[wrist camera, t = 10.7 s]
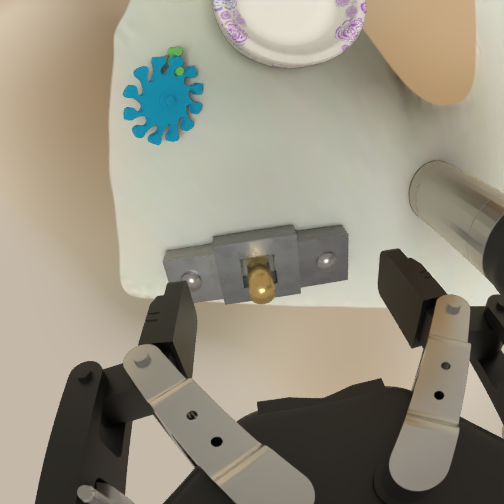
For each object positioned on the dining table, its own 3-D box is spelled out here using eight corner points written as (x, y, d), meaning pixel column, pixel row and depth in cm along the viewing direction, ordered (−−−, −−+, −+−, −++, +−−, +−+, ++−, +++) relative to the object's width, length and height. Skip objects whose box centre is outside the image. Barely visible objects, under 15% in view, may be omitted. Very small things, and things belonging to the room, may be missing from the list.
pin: (266, 248, 44) (274, 281, 37) (269, 267, 46) (276, 302, 39) (244, 252, 44) (247, 285, 37) (247, 270, 46) (251, 305, 39)
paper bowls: (356, 60, 33) (384, 56, 26) (233, 82, 34) (233, 80, 27) (325, -45, 25) (345, -68, 18) (201, -27, 26) (195, -52, 19)
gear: (193, 151, 36) (117, 140, 28) (164, 142, 39) (95, 133, 31) (219, 62, 32) (149, 33, 24) (187, 62, 35) (121, 39, 27)
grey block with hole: (341, 218, 43) (349, 228, 39) (341, 274, 47) (348, 287, 44) (164, 244, 43) (159, 257, 40) (180, 297, 47) (177, 312, 44)
